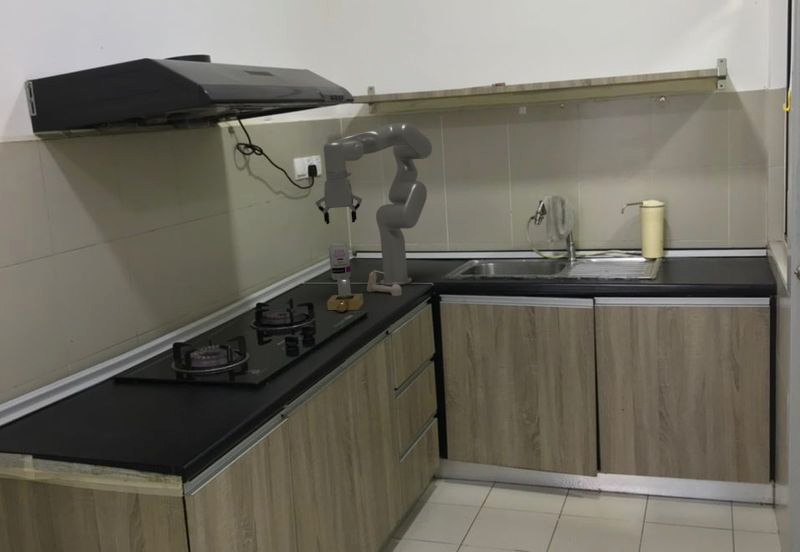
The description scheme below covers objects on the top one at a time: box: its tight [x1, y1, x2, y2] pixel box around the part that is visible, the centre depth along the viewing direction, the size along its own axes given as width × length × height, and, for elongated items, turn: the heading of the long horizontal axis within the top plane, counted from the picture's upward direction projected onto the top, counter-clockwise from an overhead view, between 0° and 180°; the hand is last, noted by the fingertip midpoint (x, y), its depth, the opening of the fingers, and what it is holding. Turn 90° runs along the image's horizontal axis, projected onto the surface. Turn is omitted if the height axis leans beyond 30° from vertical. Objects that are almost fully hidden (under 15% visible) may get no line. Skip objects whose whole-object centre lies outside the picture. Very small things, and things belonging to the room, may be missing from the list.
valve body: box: [326, 292, 364, 312], centre depth 302 cm, size 19×11×4 cm, turn 175°
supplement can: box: [328, 242, 352, 281], centre depth 359 cm, size 8×8×15 cm
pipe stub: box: [337, 278, 352, 300], centre depth 302 cm, size 4×4×10 cm
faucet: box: [366, 270, 402, 297], centre depth 322 cm, size 4×18×10 cm, turn 42°
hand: (340, 222), depth 315 cm, fingers open, 9 cm apart
